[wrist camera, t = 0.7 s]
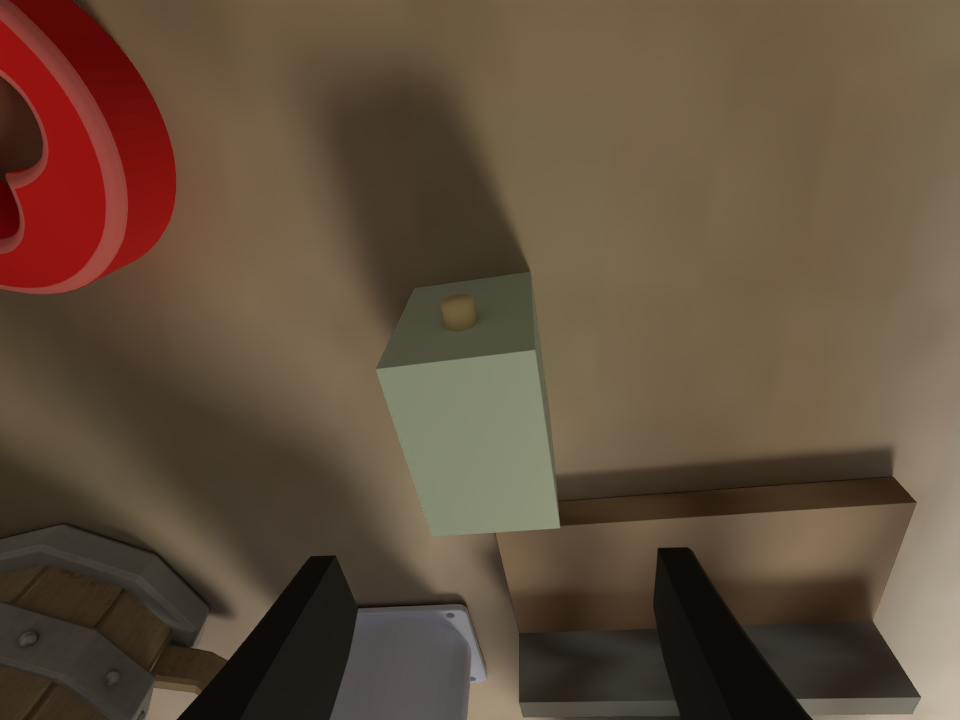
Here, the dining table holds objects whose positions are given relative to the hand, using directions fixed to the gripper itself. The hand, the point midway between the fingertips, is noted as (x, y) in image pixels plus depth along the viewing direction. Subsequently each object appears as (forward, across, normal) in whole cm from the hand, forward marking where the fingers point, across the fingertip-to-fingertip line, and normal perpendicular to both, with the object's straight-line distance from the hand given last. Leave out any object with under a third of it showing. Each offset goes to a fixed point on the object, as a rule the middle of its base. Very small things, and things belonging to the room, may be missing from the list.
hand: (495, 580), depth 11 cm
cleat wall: (+10, -8, +14) cm, 19 cm away
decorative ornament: (+11, +15, -10) cm, 21 cm away
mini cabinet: (+10, +1, 0) cm, 11 cm away
